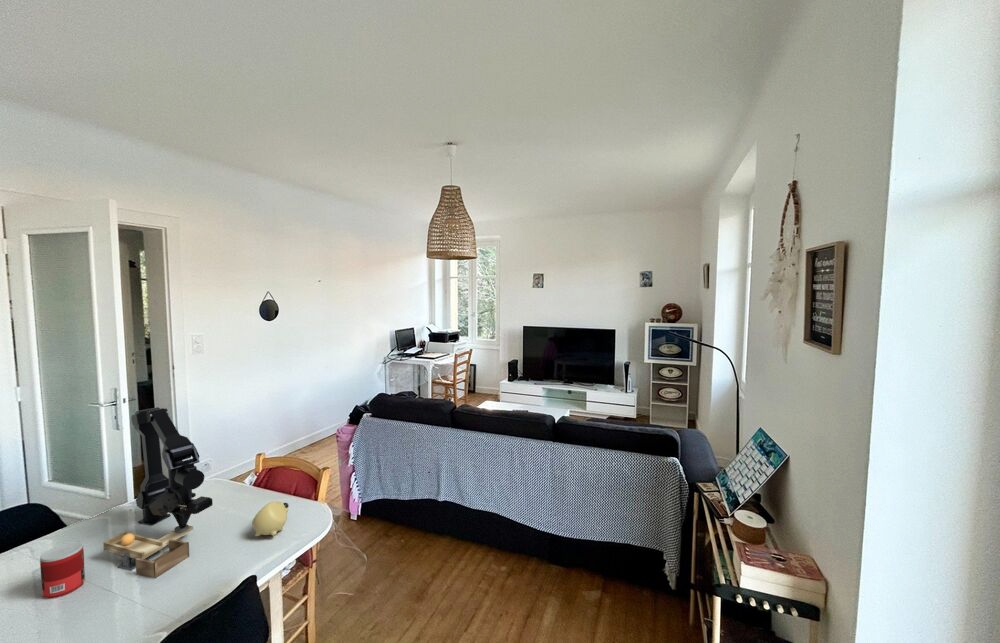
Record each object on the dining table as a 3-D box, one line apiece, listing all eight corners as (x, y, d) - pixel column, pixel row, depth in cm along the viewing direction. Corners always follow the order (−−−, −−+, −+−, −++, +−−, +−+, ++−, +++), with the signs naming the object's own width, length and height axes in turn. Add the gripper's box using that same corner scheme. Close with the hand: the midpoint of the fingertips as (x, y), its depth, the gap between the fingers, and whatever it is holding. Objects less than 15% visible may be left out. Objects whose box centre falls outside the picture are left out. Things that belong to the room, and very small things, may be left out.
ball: (119, 535, 122) (127, 541, 121) (131, 529, 125) (138, 535, 124) (116, 543, 122) (124, 549, 122) (128, 537, 125) (135, 543, 125)
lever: (103, 549, 122) (103, 542, 122) (158, 520, 137) (158, 514, 137) (141, 560, 119) (141, 552, 118) (193, 529, 134) (193, 522, 134)
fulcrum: (117, 567, 119) (117, 553, 119) (148, 550, 128) (147, 536, 127) (131, 570, 118) (130, 556, 118) (160, 552, 126) (160, 539, 126)
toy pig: (294, 521, 145) (294, 493, 144) (278, 542, 133) (277, 511, 132) (265, 522, 144) (265, 493, 143) (247, 543, 132) (246, 511, 131)
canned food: (91, 582, 113) (89, 544, 112) (52, 603, 106) (50, 562, 105) (75, 575, 116) (72, 538, 115) (35, 595, 108) (33, 555, 107)
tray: (136, 574, 117) (135, 559, 117) (171, 552, 127) (170, 538, 126) (155, 578, 115) (154, 563, 115) (189, 556, 125) (188, 542, 125)
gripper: (130, 489, 125) (133, 538, 126) (178, 496, 121) (181, 546, 122) (166, 474, 136) (169, 519, 137) (212, 479, 132) (215, 526, 133)
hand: (182, 527), depth 132 cm, fingers closed, pressing on lever
